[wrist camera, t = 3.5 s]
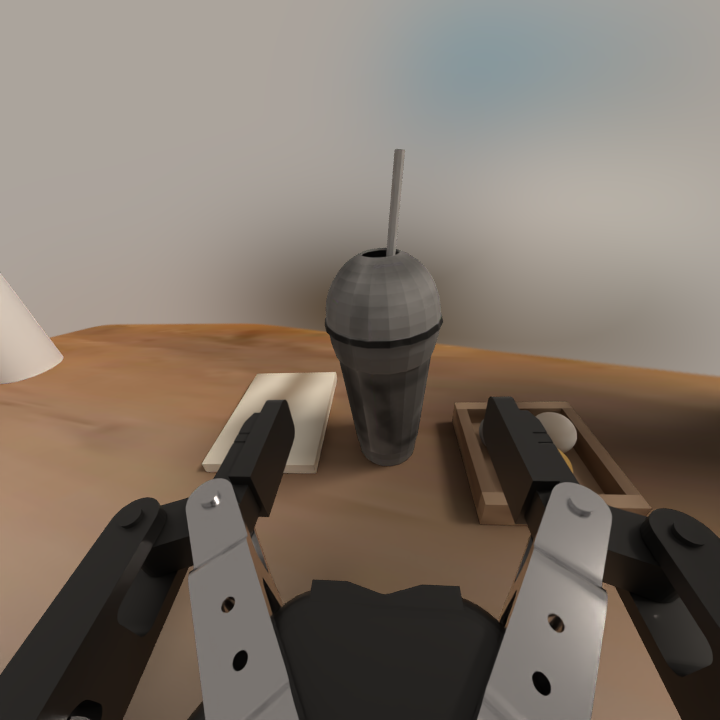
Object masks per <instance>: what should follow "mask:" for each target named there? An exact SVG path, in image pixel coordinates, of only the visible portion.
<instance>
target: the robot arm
mask: <svg viewBox="0 0 720 720" xmlns="http://www.w3.org/2000/svg"><path fill="white" fill-rule="evenodd" d="M482 431H483V438H484V442H485V445H486V447H487V450H488V453H489V455H490V458H491V461H492V463H493V466H494V469H495V471H496V474H497V477H498V479H499V482H500V485H501V488H502V490H503V493H504V496H505V498H506V501H507V504H508V506H509V509H510V512H511V514H512V517H513V520H514V523H515V524H527V525H528V528H529V530H530V533H531V535H530V537H529V540H528V543H527V545H526V548H525V551H524V554H523V556H522V559H521V562H520V565H519V567H518V570H517V573H516V576H515V578H514V581H513V584H512V587H511V589H510V592H509V594H508V597H507V599H506V601H505V604H504V606H503V609H502V611H501V614H500V616H499V619H498V620H497V619H495V618H494V617H493V616H492V615H491V614H489V613H488V612H487V611H485V610H484V609H482V608H481V607H479V606H478V605H476V604H474V603H472V602H470V601H468V600H466V599H463V598H462V597H461V592H460V586H441V585H419V586H415V587H412V588H408V589H405V590H401V591H397V592H394V593H390V594H380V593H377V592H375V591H372V590H369V589H367V588H364V587H361V586H359V585H356V584H353V583H351V582H348V581H331V580H313V581H312V587H311V591H308V592H305V593H303V594H301V595H298V596H296V597H295V598H293V599H292V600H290V601H288V602H287V603H286V604H285V605H283V603H282V600H281V598H280V595H279V593H278V590H277V588H276V586H275V583H274V581H273V578H272V576H271V573H270V570H269V567H268V564H267V561H266V558H265V556H264V553H263V550H262V547H261V544H260V541H259V538H258V535H257V532H256V529H255V525H256V522H257V519H258V517H269V515H270V512H271V509H272V506H273V503H274V500H275V497H276V494H277V491H278V488H279V485H280V482H281V478H282V475H283V472H284V469H285V466H286V463H287V460H288V457H289V454H290V451H291V448H292V445H293V442H294V437H295V427H294V423H293V419H292V416H291V412H290V409H289V405H288V402H287V400H267V401H266V402H265V404H264V406H263V408H262V410H261V412H260V413H253V414H252V415H251V416H250V417H249V418H248V419H247V420H246V421H245V422H244V424H243V426H242V427H241V429H240V431H239V435H237V437H236V438H235V440H234V444H232V446H231V448H230V449H229V451H228V453H227V455H226V457H225V459H224V460H223V462H222V464H221V466H220V468H219V470H218V471H217V473H216V475H215V477H214V478H213V479H212V480H209V481H207V482H205V483H203V484H202V485H200V486H199V487H198V488H197V489H196V490H195V491H194V492H193V493H192V494H191V496H190V497H189V498H186V499H182V500H179V501H175V502H172V503H168V504H165V505H160V504H159V503H158V501H157V500H156V499H154V498H148V497H147V498H141V499H138V500H135V501H133V502H131V503H130V504H128V505H126V506H125V507H124V508H122V509H121V510H120V511H119V512H118V513H117V514H116V515H115V516H114V517H113V518H112V520H111V521H110V522H109V524H108V525H107V526H106V528H105V529H104V531H103V532H102V533H101V535H100V536H99V538H98V539H97V540H96V542H95V543H94V545H93V546H92V547H91V549H90V550H89V552H88V553H87V554H86V556H85V557H84V559H83V560H82V561H81V563H80V564H79V566H78V567H77V568H76V570H75V571H74V573H73V574H72V575H71V577H70V578H69V580H68V581H67V582H66V584H65V585H64V587H63V588H62V589H61V591H60V592H59V594H58V595H57V596H56V598H55V599H54V601H53V602H52V603H51V605H50V606H49V608H48V609H47V610H46V612H45V613H44V615H43V616H42V617H41V619H40V620H39V622H38V623H37V624H36V626H35V627H34V629H33V630H32V631H31V633H30V634H29V635H28V637H27V638H26V640H25V641H24V642H23V644H22V645H21V647H20V648H19V649H18V651H17V652H16V654H15V655H14V656H13V658H12V659H11V661H10V662H9V663H8V665H7V666H6V668H5V669H4V670H3V672H2V673H1V675H0V720H123V717H124V715H125V713H126V711H127V708H128V706H129V704H130V701H131V699H132V697H133V694H134V692H135V690H136V688H137V685H138V683H139V681H140V678H141V676H142V674H143V671H144V669H145V667H146V665H147V662H148V660H149V658H150V655H151V653H152V651H153V648H154V646H155V644H156V642H157V639H158V637H159V635H160V632H161V630H162V628H163V625H164V623H165V621H166V619H167V616H168V614H169V612H170V609H171V607H172V605H173V602H174V600H175V598H176V596H177V593H178V591H179V589H180V586H181V584H182V582H183V579H184V577H185V575H186V573H187V570H188V568H189V567H190V566H193V565H194V569H193V570H192V571H191V572H190V573H189V576H188V585H189V593H190V601H191V609H192V617H193V625H194V633H195V641H196V649H197V657H198V665H199V673H200V681H201V689H202V697H203V701H202V702H201V704H200V705H199V706H198V707H197V708H196V710H195V711H194V712H193V713H192V715H191V716H190V717H189V718H188V719H187V720H591V715H592V708H593V701H594V694H595V687H596V680H597V673H598V666H599V659H600V652H601V645H602V638H603V631H604V624H605V617H606V610H607V601H608V597H607V592H606V590H604V589H603V588H602V582H604V583H607V584H610V585H612V586H615V587H616V589H617V591H618V593H619V595H620V597H621V599H622V601H623V603H624V605H625V607H626V609H627V611H628V613H629V615H630V617H631V619H632V621H633V623H634V625H635V627H636V629H637V631H638V633H639V635H640V637H641V639H642V641H643V643H644V645H645V647H646V649H647V651H648V653H649V655H650V657H651V659H652V661H653V663H654V665H655V667H656V669H657V671H658V673H659V675H660V677H661V679H662V681H663V683H664V685H665V687H666V689H667V691H668V693H669V695H670V697H671V699H672V701H673V703H674V705H675V707H676V709H677V711H678V713H679V715H680V717H681V719H682V720H720V539H719V538H718V537H717V536H716V535H715V534H714V533H713V532H712V531H711V530H710V529H709V528H708V527H706V526H705V525H704V524H702V523H701V522H699V521H698V520H696V519H695V518H693V517H691V516H689V515H687V514H684V513H682V512H679V511H676V510H672V509H666V508H663V509H656V510H654V511H653V512H652V513H651V514H650V515H649V516H648V517H646V516H643V515H639V514H636V513H632V512H629V511H625V510H622V509H618V508H615V507H612V506H609V505H607V504H606V503H605V501H604V500H603V499H602V498H601V497H600V496H599V495H597V494H596V493H595V492H593V491H592V490H590V489H588V488H587V487H585V486H582V485H580V484H579V482H578V481H577V479H576V478H575V476H574V475H573V473H572V471H571V470H570V468H569V466H568V465H567V463H566V462H565V460H564V458H563V457H562V455H561V454H560V452H559V450H558V449H557V447H556V446H555V444H553V441H552V439H551V438H550V436H549V434H547V431H546V430H545V428H544V426H543V425H542V423H541V422H540V420H539V419H538V418H536V417H535V416H534V415H533V414H532V413H530V412H529V411H528V410H520V409H519V408H518V406H517V404H516V402H515V401H514V399H513V398H512V397H490V398H489V399H488V403H487V407H486V412H485V417H484V421H483V427H482Z"/></svg>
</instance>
